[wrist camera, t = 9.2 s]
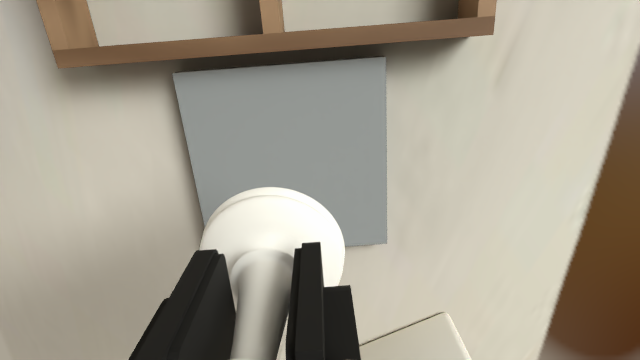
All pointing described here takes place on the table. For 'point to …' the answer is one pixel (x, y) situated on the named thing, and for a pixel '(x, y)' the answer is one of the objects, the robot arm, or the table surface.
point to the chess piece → (269, 259)
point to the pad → (293, 136)
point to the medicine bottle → (419, 342)
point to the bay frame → (83, 50)
